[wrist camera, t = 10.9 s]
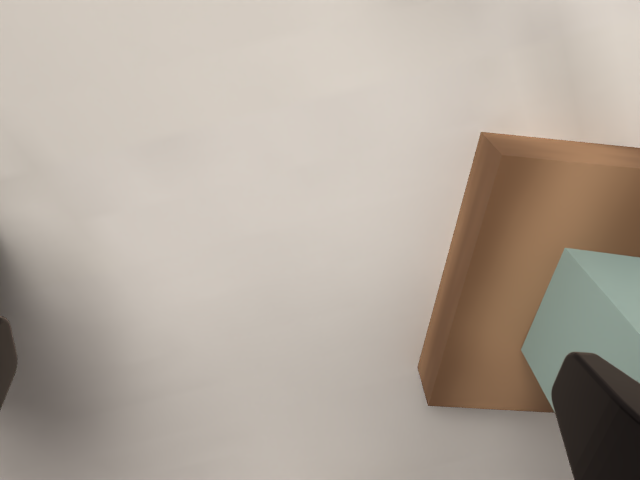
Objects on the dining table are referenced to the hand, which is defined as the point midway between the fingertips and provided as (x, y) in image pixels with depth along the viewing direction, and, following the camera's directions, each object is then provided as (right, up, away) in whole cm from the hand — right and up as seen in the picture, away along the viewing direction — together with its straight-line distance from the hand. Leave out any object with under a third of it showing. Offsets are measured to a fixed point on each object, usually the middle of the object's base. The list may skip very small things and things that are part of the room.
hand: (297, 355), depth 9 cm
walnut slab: (+12, +1, +16) cm, 20 cm away
